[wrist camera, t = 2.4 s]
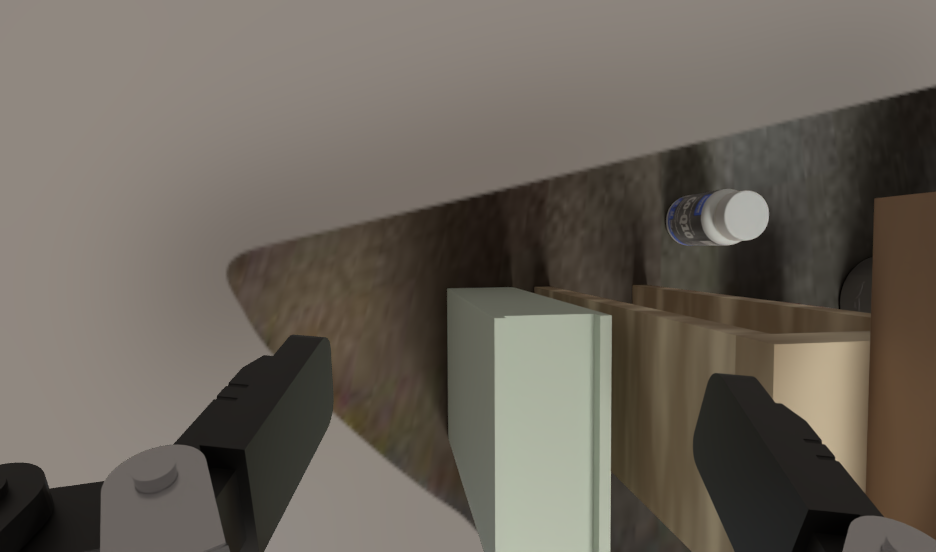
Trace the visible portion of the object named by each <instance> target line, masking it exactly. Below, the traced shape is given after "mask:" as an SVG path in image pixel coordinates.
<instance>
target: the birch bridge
mask: <svg viewBox="0 0 936 552" xmlns="http://www.w3.org/2000/svg"><path fill="white" fill-rule="evenodd" d="M534 293H535V294H539V295H542V296H546V297H549V298H553V299H556V300H560V301H563V302H567V303H570V304H574V305H577V306H581V307H584V308H588V309H591V310H595V311H598V312H602V313H605V314H609V315H612V363H611V472H612V473H613V474H614V475H615V476H616V477H617V478H618V479H619V480H620V481H621V482H622V483H623V484H624V485H625V486H626V487H627V488H628V489H629V490H630V491H631V492H632V493H633V494H634V495H635V496H636V497H637V498H638V499H639V500H641V501H642V502H643V503H644V504H645V505H646V506H647V507H648V508H649V509H650V510H651V511H652V512H653V513H654V514H655V515H656V516H657V517H658V518H659V519H660V520H661V521H662V522H663V523H664V524H665V525H666V526H667V527H668V528H669V529H670V530H671V531H672V532H673V533H674V534H675V535H676V536H677V537H678V538H679V539H680V540H681V541H682V542H683V543H684V544H685V545H686V546H687V547H688V548H689V549H690V550H691V551H692V552H734V549H733V547H732V545H731V543H730V540H729V538H728V536H727V534H726V531H725V529H724V527H723V525H722V523H721V520H720V518H719V516H718V514H717V511H716V509H715V507H714V505H713V502H712V500H711V498H710V496H709V494H708V491H707V489H706V487H705V485H704V482H703V480H702V478H701V476H700V473H699V471H698V469H697V467H696V464H695V461H694V456H693V436H694V431H695V427H696V424H697V420H698V416H699V413H700V409H701V405H702V401H703V398H704V394H705V390H706V386H707V383H708V380H709V378H710V377H711V375H712V374H714V373H722V374H733V375H745V376H753V377H755V378H757V380H758V381H759V382H760V383H761V385H762V386H763V387H764V388H765V390H766V391H767V392H768V394H769V395H770V396H771V398H772V399H773V400H774V402H775V403H782V404H783V405H785V406H786V407H788V408H789V409H790V410H792V411H793V412H794V413H796V414H797V415H799V416H800V417H801V418H803V419H804V420H805V421H807V423H808V424H809V425H810V426H811V428H812V429H813V430H814V431H815V432H816V434H817V435H818V436H819V437H820V439H821V440H822V444H825V445H826V446H827V447H828V448H829V450H830V451H831V452H832V453H833V455H834V456H835V460H836V461H839V462H840V463H841V464H842V466H843V467H844V468H845V469H846V471H847V472H848V473H849V474H850V476H851V477H852V478H853V479H854V480H855V482H856V483H857V484H858V485H859V487H860V488H861V489H862V490H863V492H864V493H865V494H866V464H867V430H868V397H869V363H870V330H871V313H864V312H856V311H848V310H841V309H833V308H825V307H817V306H809V305H801V304H793V303H786V302H778V301H770V300H762V299H754V298H746V297H738V296H731V295H723V294H715V293H707V292H699V291H691V290H683V289H676V288H668V287H660V286H652V285H632V304H629V303H624V302H620V301H615V300H610V299H606V298H601V297H597V296H592V295H587V294H583V293H578V292H573V291H569V290H564V289H559V288H555V287H534Z"/></svg>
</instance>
